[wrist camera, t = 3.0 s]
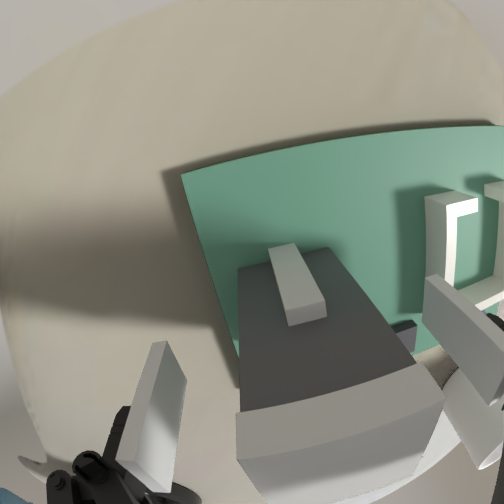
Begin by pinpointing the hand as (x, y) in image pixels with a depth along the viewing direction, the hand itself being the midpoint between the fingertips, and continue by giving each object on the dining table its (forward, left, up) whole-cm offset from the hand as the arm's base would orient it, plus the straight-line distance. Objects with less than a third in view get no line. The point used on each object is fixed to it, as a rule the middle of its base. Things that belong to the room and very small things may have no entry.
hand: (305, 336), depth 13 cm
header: (+13, 0, -4) cm, 13 cm away
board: (+7, 0, -5) cm, 8 cm away
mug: (+19, -16, -5) cm, 25 cm away
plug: (0, 0, -4) cm, 4 cm away
